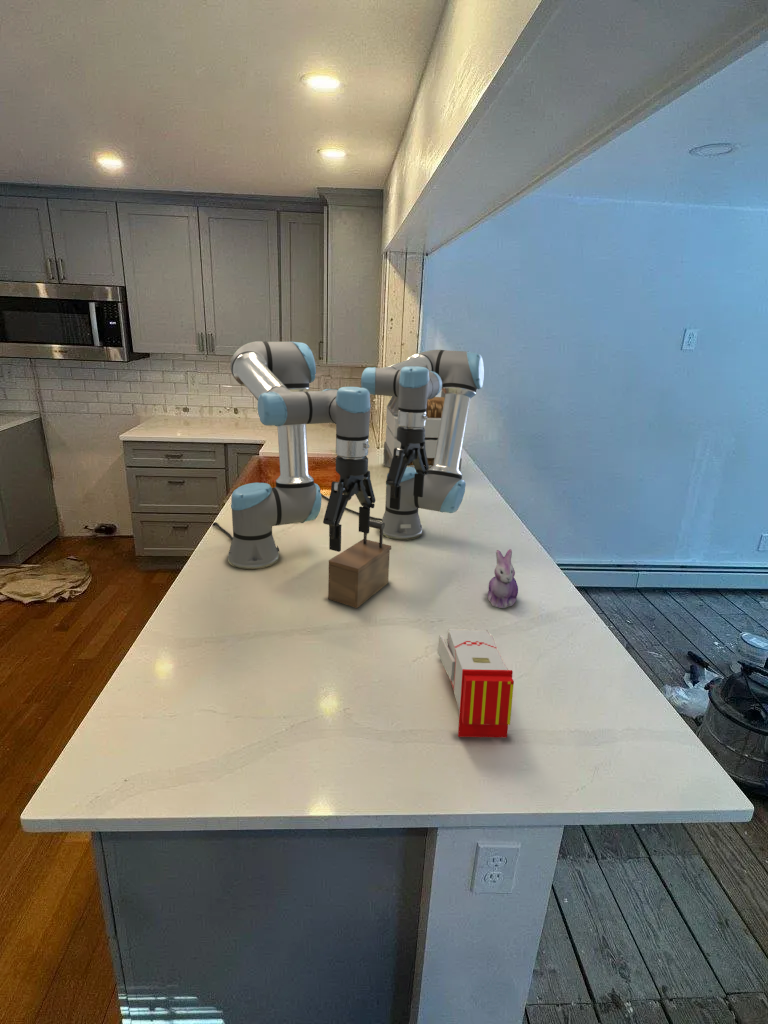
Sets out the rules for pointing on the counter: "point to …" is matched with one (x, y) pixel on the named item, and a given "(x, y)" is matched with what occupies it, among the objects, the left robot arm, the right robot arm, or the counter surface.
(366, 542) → the brown handled panel
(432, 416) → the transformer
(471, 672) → the toy
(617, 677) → the counter surface
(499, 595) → the figurine
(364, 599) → the chest
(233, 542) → the left robot arm
